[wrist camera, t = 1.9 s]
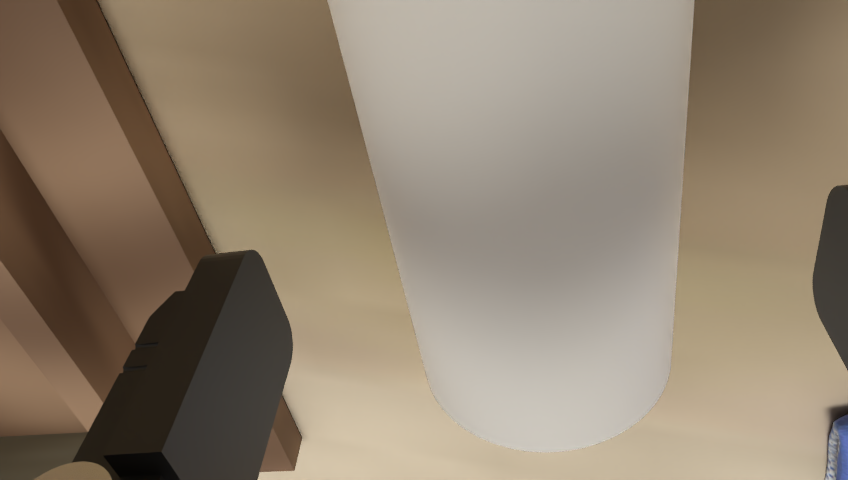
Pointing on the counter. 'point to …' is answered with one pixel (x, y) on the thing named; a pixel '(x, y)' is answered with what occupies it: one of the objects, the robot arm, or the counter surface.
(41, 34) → the cradle
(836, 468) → the dish towel
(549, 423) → the roll
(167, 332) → the robot arm
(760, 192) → the counter surface
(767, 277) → the counter surface
